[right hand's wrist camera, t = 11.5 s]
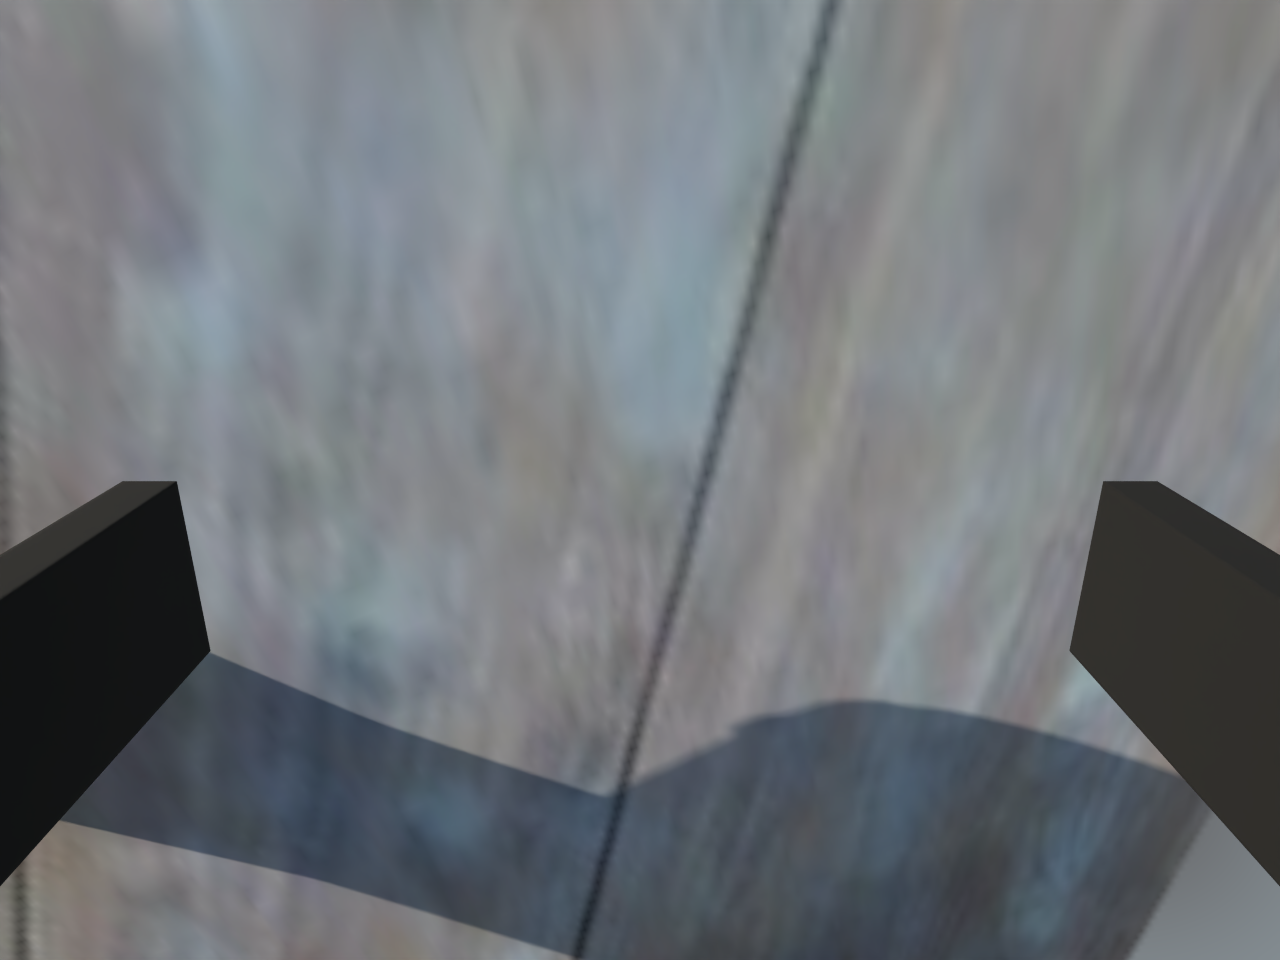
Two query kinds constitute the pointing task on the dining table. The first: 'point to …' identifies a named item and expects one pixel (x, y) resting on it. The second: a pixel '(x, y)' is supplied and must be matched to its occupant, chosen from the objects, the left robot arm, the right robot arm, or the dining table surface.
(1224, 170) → the dining table surface
